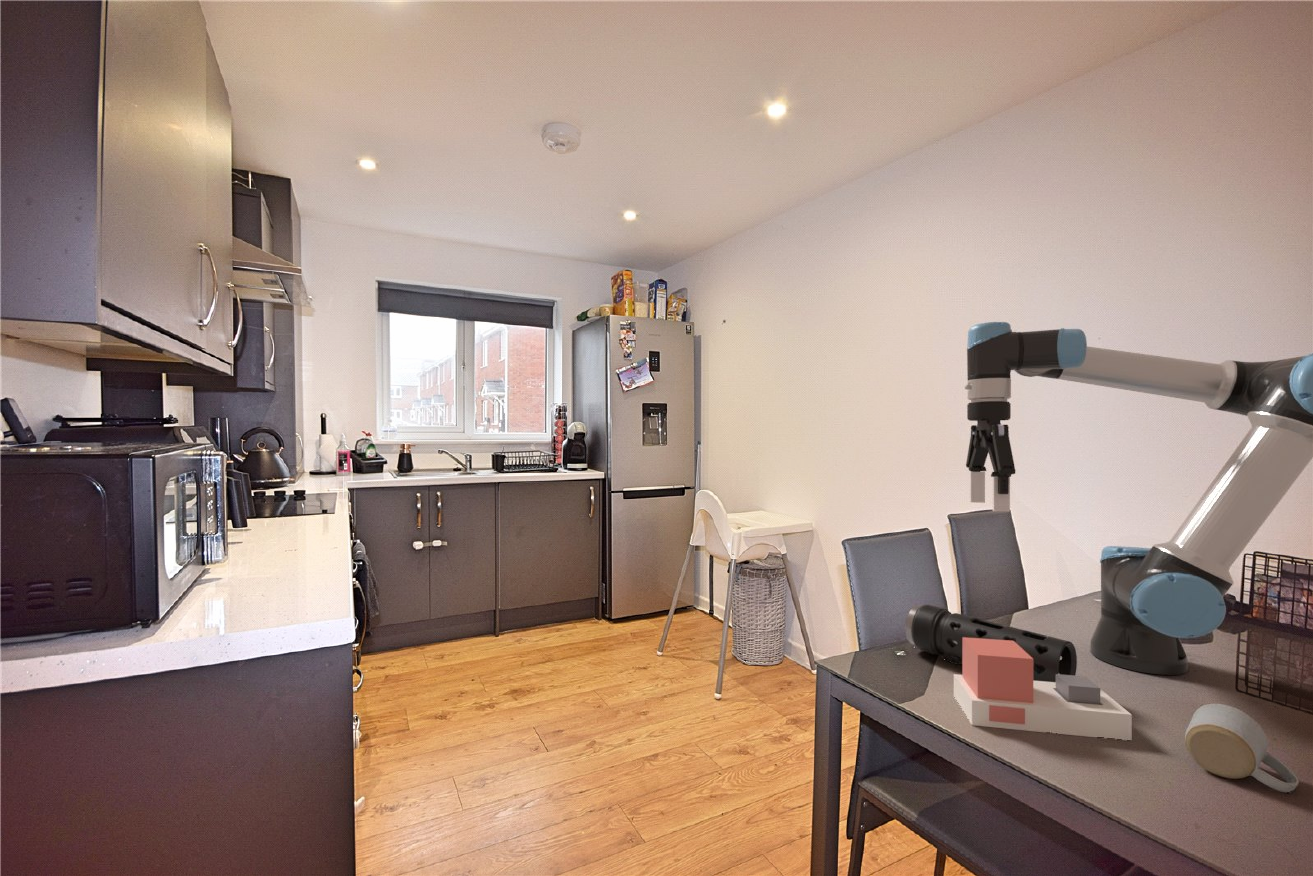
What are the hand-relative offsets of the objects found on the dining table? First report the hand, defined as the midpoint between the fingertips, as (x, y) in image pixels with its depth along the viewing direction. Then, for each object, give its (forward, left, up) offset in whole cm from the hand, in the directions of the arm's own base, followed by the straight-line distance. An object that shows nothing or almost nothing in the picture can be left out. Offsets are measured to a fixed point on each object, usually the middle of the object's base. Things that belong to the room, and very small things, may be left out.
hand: (988, 506), depth 114 cm
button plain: (-6, +22, -29) cm, 37 cm away
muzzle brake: (+2, +4, -32) cm, 32 cm away
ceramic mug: (-21, +33, -32) cm, 50 cm away
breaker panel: (0, +22, -32) cm, 39 cm away
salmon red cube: (+6, +22, -28) cm, 36 cm away
